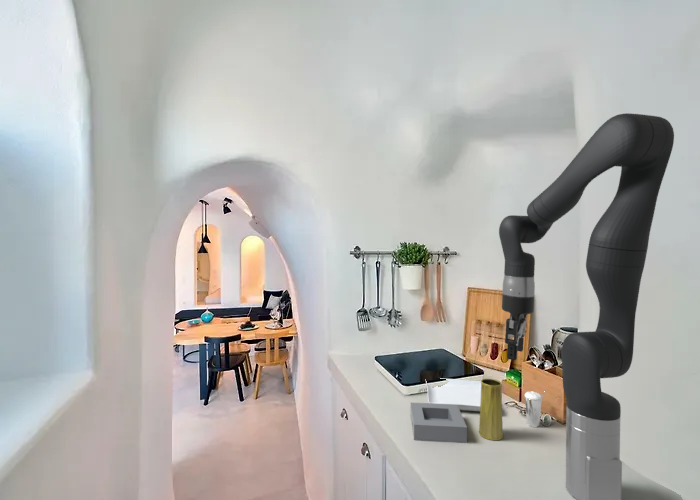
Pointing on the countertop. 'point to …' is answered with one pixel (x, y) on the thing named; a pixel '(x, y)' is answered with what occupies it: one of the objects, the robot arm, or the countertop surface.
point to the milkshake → (533, 408)
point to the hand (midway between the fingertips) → (515, 354)
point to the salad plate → (457, 394)
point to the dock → (438, 422)
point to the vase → (491, 410)
